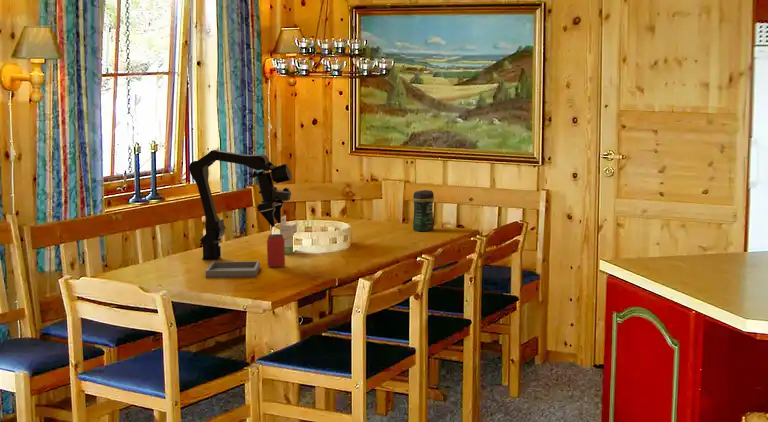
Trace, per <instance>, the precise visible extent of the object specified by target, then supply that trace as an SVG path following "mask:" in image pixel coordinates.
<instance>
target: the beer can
mask: <svg viewBox="0 0 768 422" xmlns="http://www.w3.org/2000/svg"><path fill="white" fill-rule="evenodd" d="M266 240H267V241H266V251H267V252H266V253H267V258H266V259H267V267H269V268H272V269H277V268H283V267H285V265H286V258H285V257H286V254H285V245H284V238H283V235H281V234H280V233H277V234H276V233H275V234H269V235H268V237H267V239H266Z"/></svg>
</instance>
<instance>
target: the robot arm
mask: <svg viewBox="0 0 768 422" xmlns="http://www.w3.org/2000/svg"><path fill="white" fill-rule="evenodd" d="M216 161H219V162H225V163H231V164H236V165H243V166H245V167H247V168H249V169H251V170H253V173H252V174H251V176H250V178H256V181H257V184H258V188H259V190H258V194H260V196H261V202H259V203H258V204H257V206H256V209H257V212H259V214H261V216H263V218H264V220H266V221H267V222H268V224H269V225H270V226H271V228H274V227H276V226H275V225H276V224H275V221H276V222H277V224H280V223H281V217H282V208H283V207H284V205H285V203H286V202H288V201H290V200H291V196H292V191H291V190H290V188H288V187H284V188H283V189H282V190H281V189H280V190H279V189H278V188H277V187H276V186H275V185H274V183H276V184H281V183H285V182H289V181H292V178H293V177H292V171H291V170H290V167H289V166H288V164H287V163H283V164H281V165H277V166H276V165H275V164H274V163H272V162H271V161H270V160H269V158H268V157H267V155H266V154H244V153H243V154H242V153H236V152H230V151H224V150H220V149H212V150H210V151H209V152H208V153H207V154H205V155H204V156H202V157H201V158H200V159H197V160H193V161H192V162H191V163H190V164H189V165H188V172H189V174H190V176H191V178H192V180H194V182H195V183H196V186H197V189H198V194H199V198H200V201H201V205H202V209H203V212H204V213H203V214H204V217H205V223H204V224H205V226H204V228H205V234H204V235H203V236H202V237H201V238H200V243H201V245H202V260H219V259H220V258H221V257H222V246H221V245H220V242H221V239H222V237H224V235H225V233H226V229H227V227H226V226H225V220H224V218H222V219H220V218H219V216H218V214H217V210H216V206H215V202H214V199H213V198H214V197H213V195H212V192H211V188H210V183H209V178H210V177H209V176H210V172H209V171H210V170H209V168H210V167H211V166H212V165H213V164H214V163H215V162H216Z"/></svg>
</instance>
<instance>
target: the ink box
mask: <svg viewBox="0 0 768 422" xmlns="http://www.w3.org/2000/svg"><path fill="white" fill-rule="evenodd" d="M297 225H298V224H297V222H287V215H286V214H285V215H283V216H281V223H279V234H281V235H283V238H284V245H285V255H286V254H287V255H292V254H293V253H294V252H293V235H294V233H296V232H297ZM292 252H293V253H292Z"/></svg>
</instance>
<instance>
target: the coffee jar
mask: <svg viewBox="0 0 768 422" xmlns="http://www.w3.org/2000/svg"><path fill="white" fill-rule="evenodd" d="M412 197H413V198H412V200H413V221H412V229H413V231H415V232H429V231H433V230H434V227H435V225H434V211H433V209H434V208H433V204H434V199H435V198H434V192H433V191H432V190H427V189H424V190H416V191H414V192H413V196H412Z"/></svg>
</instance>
